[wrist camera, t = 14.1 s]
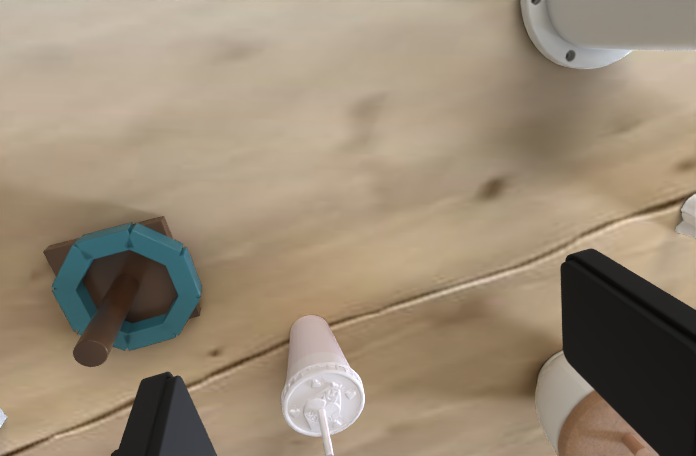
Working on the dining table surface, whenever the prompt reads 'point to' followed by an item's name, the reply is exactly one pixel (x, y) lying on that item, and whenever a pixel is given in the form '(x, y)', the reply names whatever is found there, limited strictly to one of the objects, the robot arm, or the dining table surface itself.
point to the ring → (145, 243)
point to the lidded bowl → (581, 416)
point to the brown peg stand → (119, 294)
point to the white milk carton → (2, 417)
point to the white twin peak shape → (688, 218)
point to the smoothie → (319, 383)
